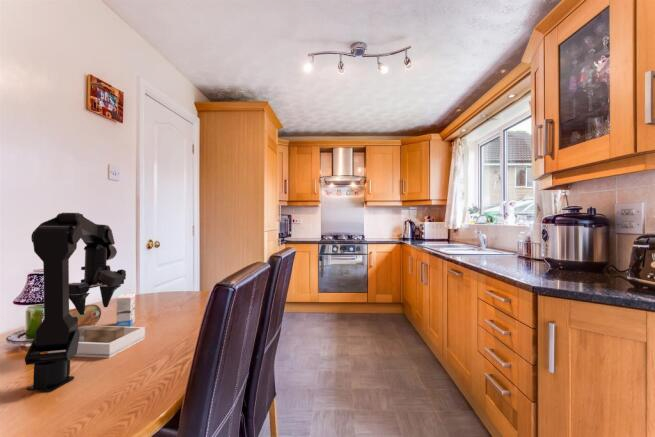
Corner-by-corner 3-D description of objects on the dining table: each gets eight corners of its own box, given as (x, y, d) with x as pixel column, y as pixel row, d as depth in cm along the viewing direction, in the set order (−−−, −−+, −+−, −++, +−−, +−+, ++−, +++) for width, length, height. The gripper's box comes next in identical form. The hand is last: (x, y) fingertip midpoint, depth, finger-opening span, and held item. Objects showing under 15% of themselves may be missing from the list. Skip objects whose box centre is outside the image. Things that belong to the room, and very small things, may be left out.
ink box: (130, 327, 120) (131, 297, 121) (115, 328, 118) (116, 298, 119) (135, 321, 128) (135, 292, 129) (121, 322, 126) (122, 293, 127)
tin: (63, 335, 111) (63, 312, 111) (56, 334, 111) (56, 311, 112) (101, 323, 125) (102, 302, 126) (95, 322, 126) (95, 301, 126)
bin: (109, 357, 92) (109, 344, 92) (47, 355, 93) (48, 342, 94) (144, 338, 108) (145, 327, 108) (91, 336, 109) (92, 325, 110)
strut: (73, 344, 99) (73, 329, 99) (83, 340, 103) (84, 325, 103) (115, 346, 98) (115, 330, 98) (124, 341, 102) (124, 326, 102)
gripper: (94, 267, 91) (92, 320, 90) (138, 260, 109) (137, 304, 109) (60, 266, 92) (58, 318, 91) (109, 260, 110) (108, 303, 110)
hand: (94, 310), depth 100 cm, fingers open, 9 cm apart
